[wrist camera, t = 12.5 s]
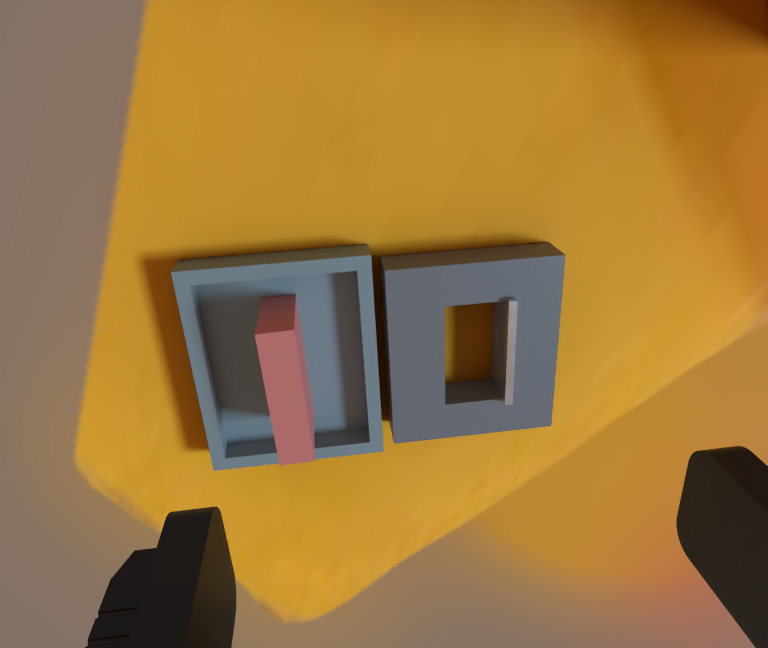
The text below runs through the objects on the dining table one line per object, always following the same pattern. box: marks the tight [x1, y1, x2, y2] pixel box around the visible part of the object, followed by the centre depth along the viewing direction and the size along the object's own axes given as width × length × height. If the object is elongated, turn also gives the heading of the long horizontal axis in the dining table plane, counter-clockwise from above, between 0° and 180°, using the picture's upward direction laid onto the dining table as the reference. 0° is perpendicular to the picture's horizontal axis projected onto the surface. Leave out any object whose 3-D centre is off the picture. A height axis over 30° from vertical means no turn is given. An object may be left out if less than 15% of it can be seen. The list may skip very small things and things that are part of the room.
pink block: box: [255, 294, 315, 465], centre depth 41 cm, size 2×6×10 cm
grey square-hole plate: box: [380, 242, 565, 444], centre depth 43 cm, size 12×14×4 cm
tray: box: [171, 244, 384, 471], centre depth 43 cm, size 13×16×2 cm
